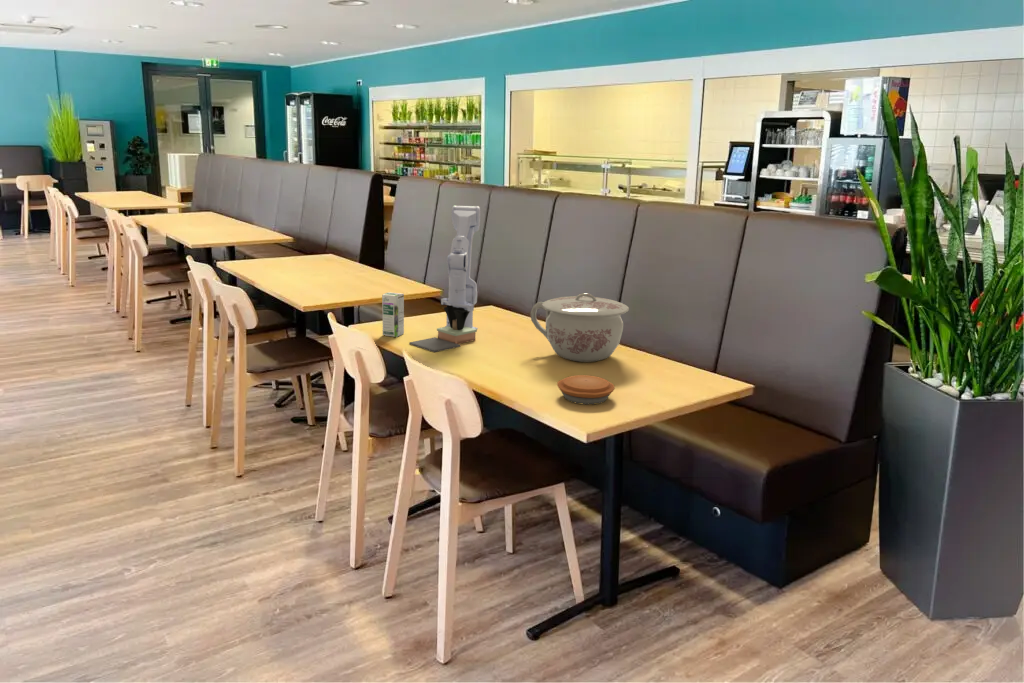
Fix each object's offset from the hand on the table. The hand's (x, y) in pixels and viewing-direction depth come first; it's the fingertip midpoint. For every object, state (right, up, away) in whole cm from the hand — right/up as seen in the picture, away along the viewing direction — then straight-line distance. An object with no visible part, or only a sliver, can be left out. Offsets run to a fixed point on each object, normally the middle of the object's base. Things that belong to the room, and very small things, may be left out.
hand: (456, 328), depth 263 cm
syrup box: (-22, -2, +5) cm, 23 cm away
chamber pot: (+41, -9, -15) cm, 45 cm away
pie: (+38, -20, -54) cm, 69 cm away
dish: (0, -4, +1) cm, 4 cm away
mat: (-7, -6, -7) cm, 11 cm away
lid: (0, -1, 0) cm, 1 cm away
